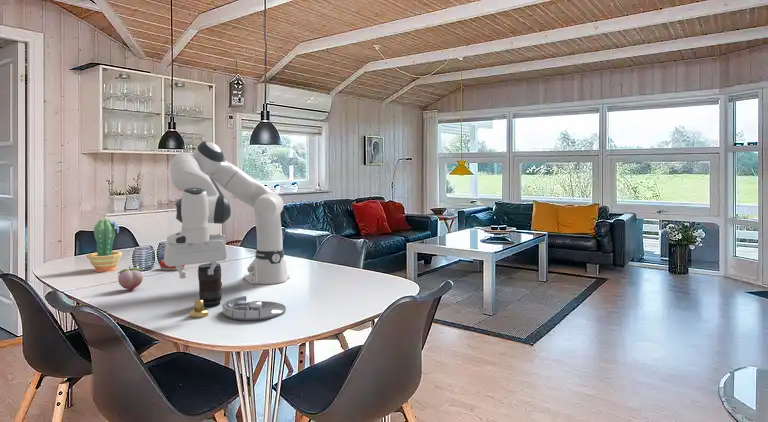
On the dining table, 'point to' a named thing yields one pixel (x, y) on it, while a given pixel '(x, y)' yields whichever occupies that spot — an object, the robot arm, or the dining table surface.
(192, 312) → the planet gear
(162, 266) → the toy boat
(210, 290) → the camera lens
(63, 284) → the dining table surface
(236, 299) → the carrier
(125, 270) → the decorative fruit
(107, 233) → the potted cactus
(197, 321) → the dining table surface
